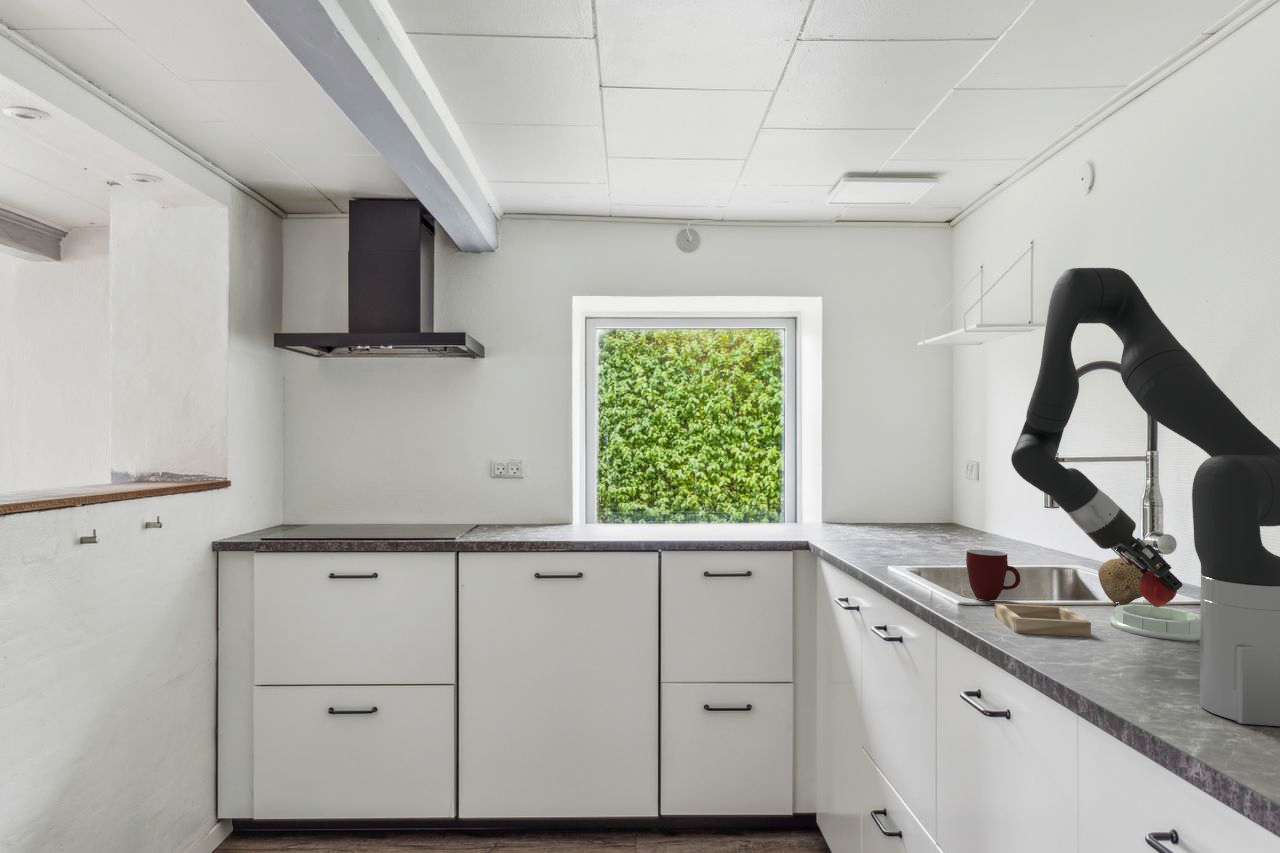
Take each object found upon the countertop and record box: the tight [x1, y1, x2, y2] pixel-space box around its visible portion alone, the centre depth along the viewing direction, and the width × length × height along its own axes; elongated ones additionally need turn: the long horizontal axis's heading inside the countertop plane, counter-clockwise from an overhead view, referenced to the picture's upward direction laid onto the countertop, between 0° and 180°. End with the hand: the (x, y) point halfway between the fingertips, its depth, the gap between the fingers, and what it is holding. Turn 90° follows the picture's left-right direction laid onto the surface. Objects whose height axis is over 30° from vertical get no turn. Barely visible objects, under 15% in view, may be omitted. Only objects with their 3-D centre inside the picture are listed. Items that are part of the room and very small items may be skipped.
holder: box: [994, 602, 1092, 638], centre depth 140 cm, size 12×12×2 cm
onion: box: [1139, 564, 1178, 607], centre depth 139 cm, size 6×6×8 cm
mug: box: [965, 549, 1021, 602], centre depth 162 cm, size 11×8×10 cm
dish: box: [1109, 603, 1200, 642], centre depth 139 cm, size 15×15×3 cm
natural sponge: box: [1097, 557, 1144, 605], centre depth 158 cm, size 9×9×10 cm
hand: (1168, 584), depth 139 cm, fingers closed on onion, 6 cm apart
